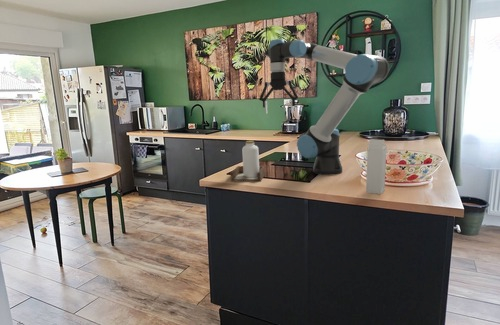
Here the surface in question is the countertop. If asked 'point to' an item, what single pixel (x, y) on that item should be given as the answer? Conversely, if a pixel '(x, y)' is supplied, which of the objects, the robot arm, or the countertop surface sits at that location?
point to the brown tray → (239, 176)
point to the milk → (376, 166)
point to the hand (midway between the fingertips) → (279, 113)
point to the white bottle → (250, 159)
